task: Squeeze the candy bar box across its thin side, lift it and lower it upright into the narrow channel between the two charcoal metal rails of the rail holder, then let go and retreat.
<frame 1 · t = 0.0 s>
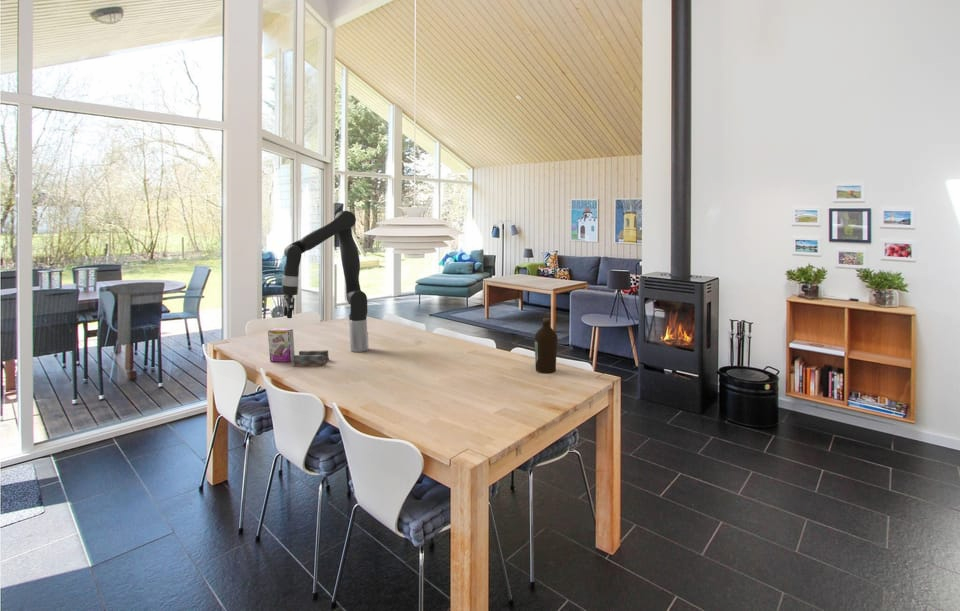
hand: (287, 316, 252), 22 cm above the table, tool pointing down, fingers open, 8 cm apart
candy bar box: (282, 361, 254), on the table
rail holder: (311, 363, 250), on the table
olive oil: (545, 370, 235), on the table
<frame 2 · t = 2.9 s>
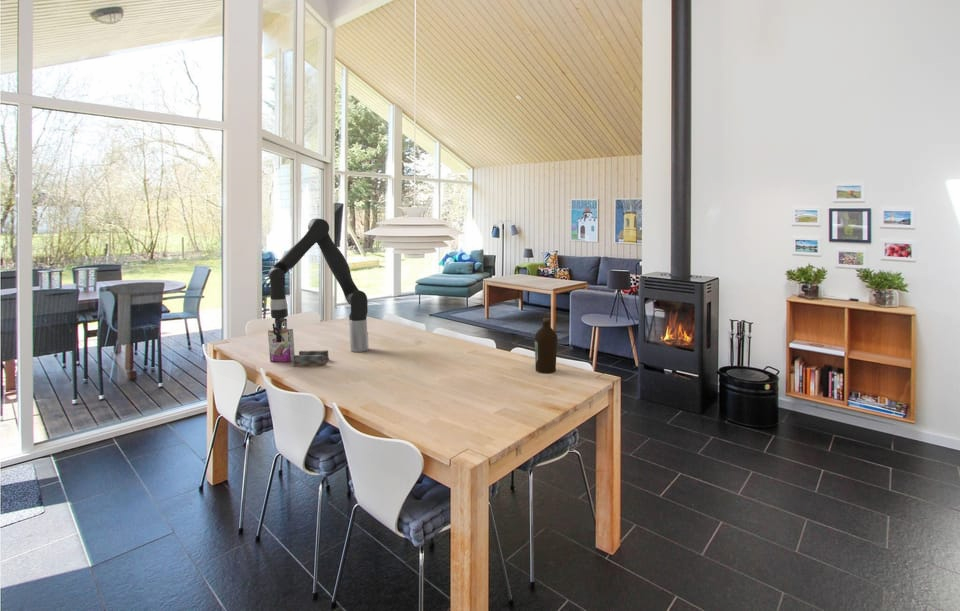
hand: (281, 340, 252), 10 cm above the table, tool pointing down, fingers closed on candy bar box, 5 cm apart
candy bar box: (282, 361, 254), on the table, touching gripper
everything else where it was.
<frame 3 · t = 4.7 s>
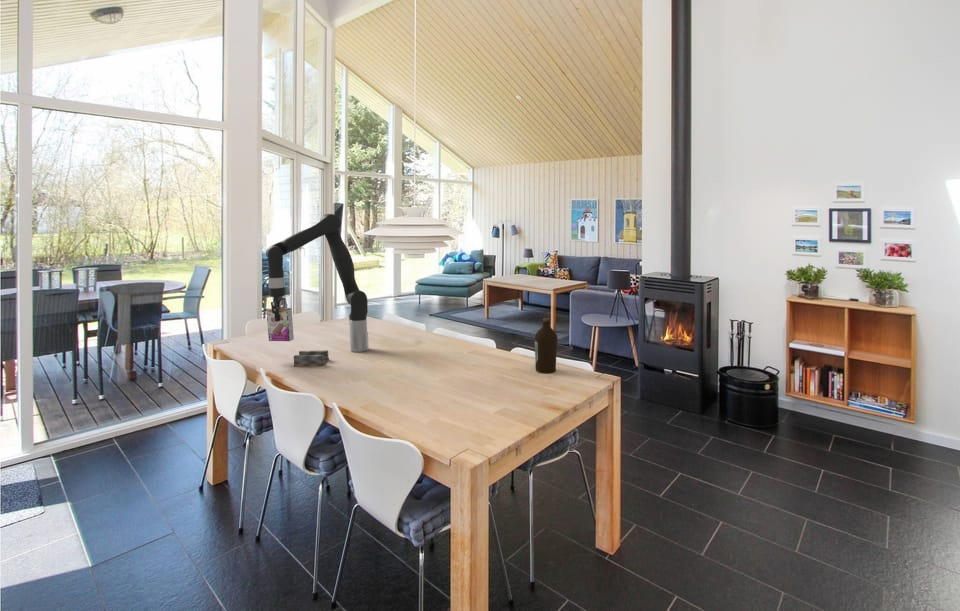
hand: (279, 319, 250), 21 cm above the table, tool pointing down, fingers closed on candy bar box, 5 cm apart
candy bar box: (281, 340, 252), point 10 cm above the table, touching gripper
everything else where it was.
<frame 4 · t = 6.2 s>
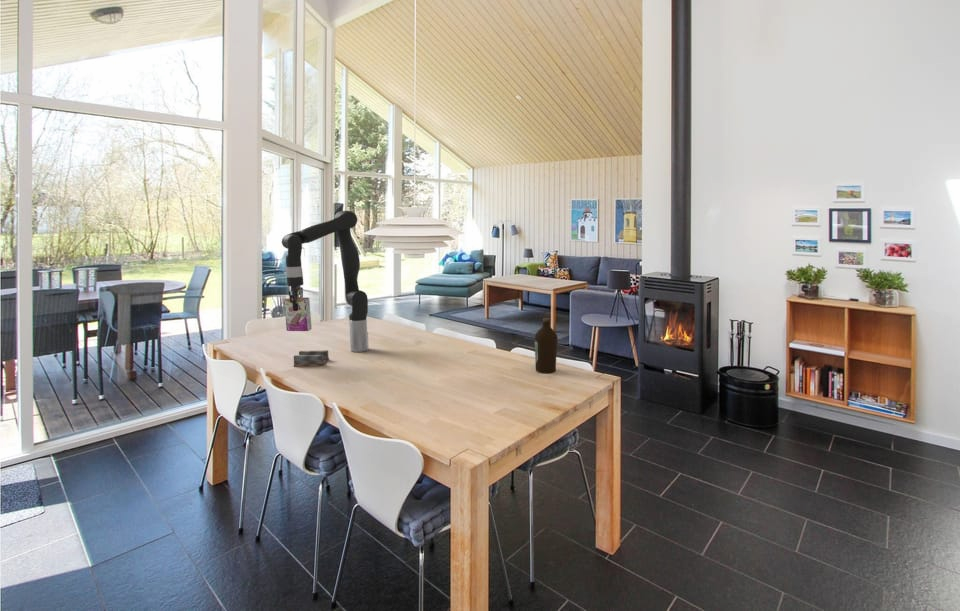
hand: (297, 309, 247), 27 cm above the table, tool pointing down, fingers closed on candy bar box, 5 cm apart
candy bar box: (299, 330, 249), point 16 cm above the table, touching gripper
everything else where it was.
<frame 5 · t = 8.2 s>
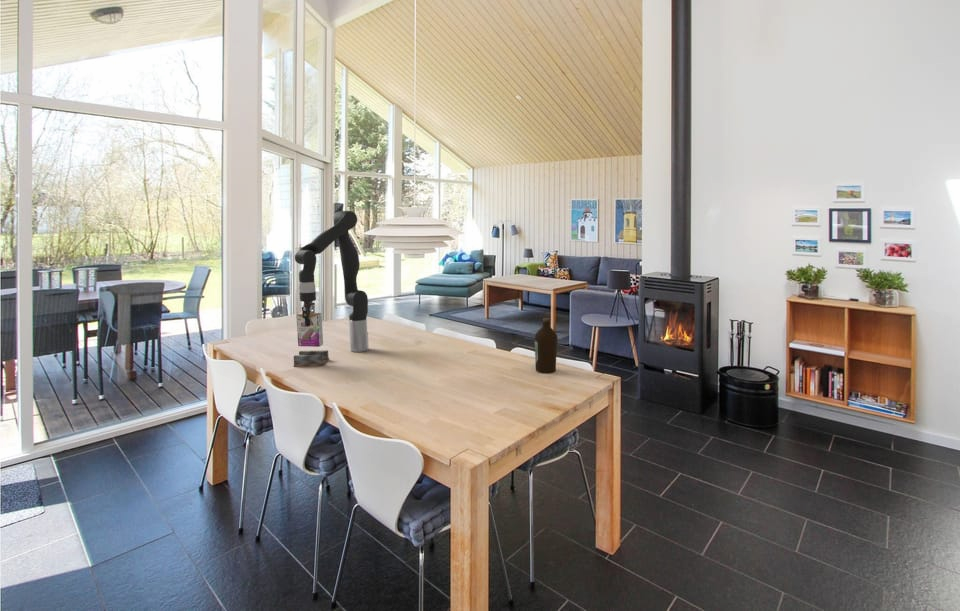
hand: (309, 324, 247), 19 cm above the table, tool pointing down, fingers closed on candy bar box, 5 cm apart
candy bar box: (310, 346, 248), point 9 cm above the table, touching gripper
everything else where it was.
when the fingers open (13 cm above the table, at t = 9.8 s): candy bar box drops 2 cm, resting on rail holder.
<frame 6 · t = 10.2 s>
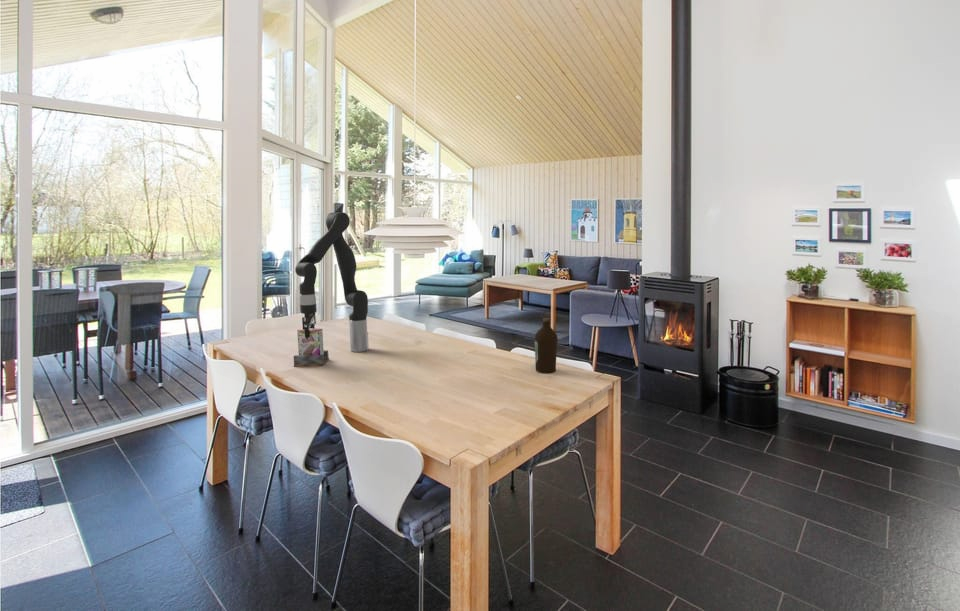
hand: (310, 335, 247), 14 cm above the table, tool pointing down, fingers open, 8 cm apart
candy bar box: (311, 361, 249), point 1 cm above the table, touching rail holder
everything else where it was.
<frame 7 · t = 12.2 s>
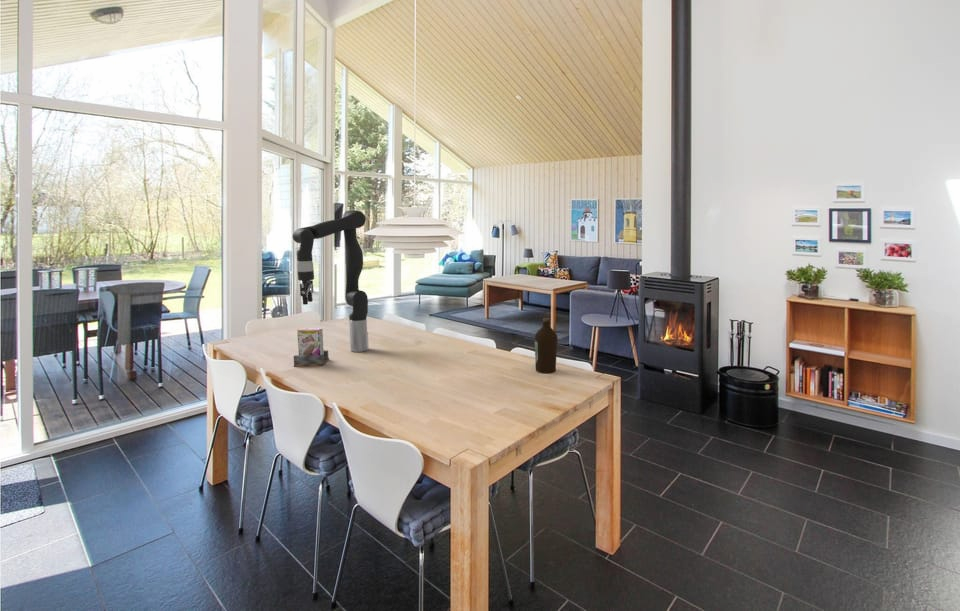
hand: (307, 303, 247), 30 cm above the table, tool pointing down, fingers open, 8 cm apart
nothing on the table moved.
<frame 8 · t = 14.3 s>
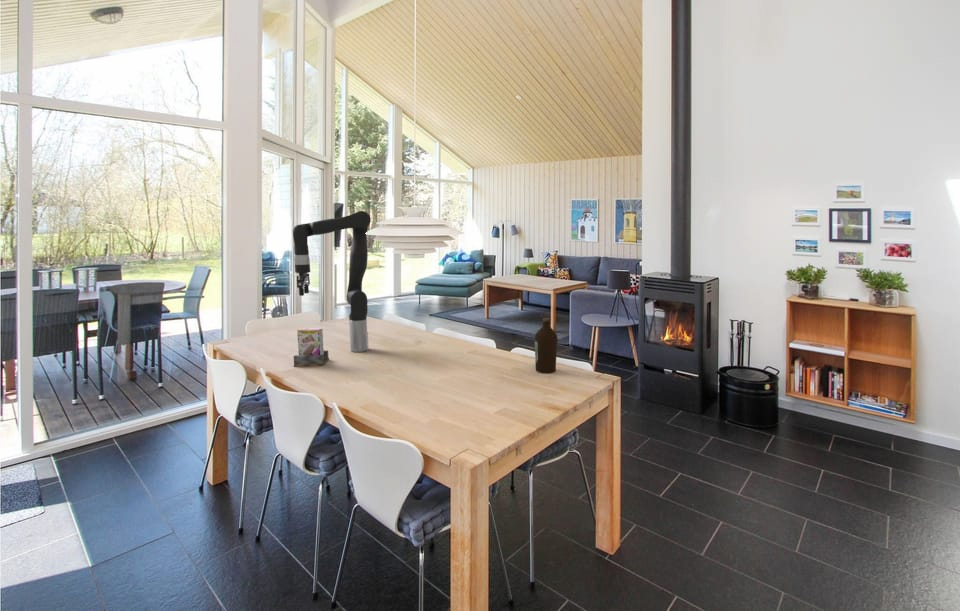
hand: (304, 294, 262), 32 cm above the table, tool pointing down, fingers open, 8 cm apart
nothing on the table moved.
at the end: candy bar box 0.3 cm off-centre on the rail holder, point 0.8 cm above the rail holder's base; candy bar box tilted 0°; the gripper is holding nothing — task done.
